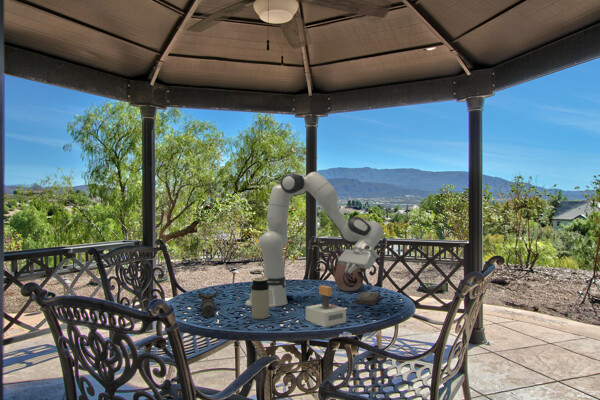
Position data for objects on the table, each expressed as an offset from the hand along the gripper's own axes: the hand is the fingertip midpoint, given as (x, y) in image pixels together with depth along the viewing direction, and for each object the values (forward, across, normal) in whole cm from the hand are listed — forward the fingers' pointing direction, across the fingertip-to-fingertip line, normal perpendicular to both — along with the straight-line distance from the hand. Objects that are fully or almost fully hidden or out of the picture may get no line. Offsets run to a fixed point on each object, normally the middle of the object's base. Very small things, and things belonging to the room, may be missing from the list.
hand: (347, 272), depth 186 cm
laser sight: (+50, -48, -20) cm, 72 cm away
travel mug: (+38, -24, -9) cm, 46 cm away
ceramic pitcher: (-13, -44, +43) cm, 63 cm away
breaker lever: (+20, 0, 0) cm, 20 cm away
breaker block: (+24, 0, +5) cm, 25 cm away
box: (-6, -16, +36) cm, 40 cm away
